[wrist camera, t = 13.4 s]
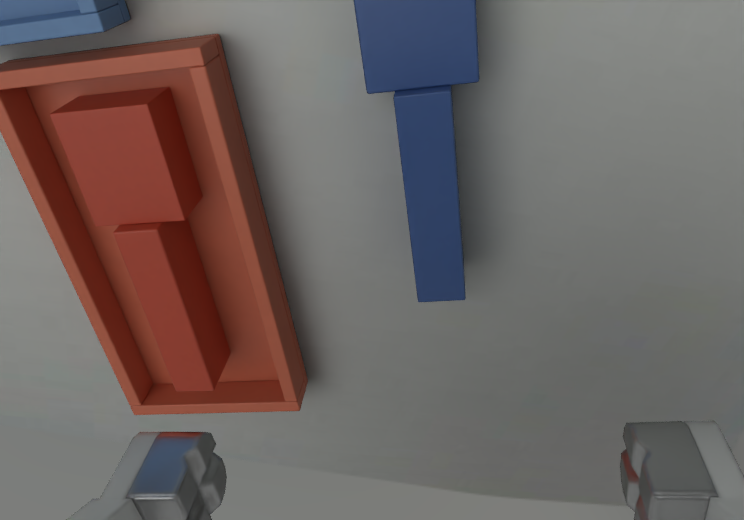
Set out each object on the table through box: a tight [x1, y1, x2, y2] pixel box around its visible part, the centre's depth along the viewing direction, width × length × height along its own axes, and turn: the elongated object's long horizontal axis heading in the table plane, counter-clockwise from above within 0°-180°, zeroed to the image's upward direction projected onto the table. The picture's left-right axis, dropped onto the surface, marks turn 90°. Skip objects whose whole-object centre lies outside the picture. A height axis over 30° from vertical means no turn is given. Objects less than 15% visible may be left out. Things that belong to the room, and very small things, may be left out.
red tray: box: [0, 34, 308, 415], centre depth 25 cm, size 16×8×2 cm, turn 8°
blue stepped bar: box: [354, 0, 479, 302], centre depth 21 cm, size 12×4×2 cm, turn 8°
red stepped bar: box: [50, 87, 231, 391], centre depth 24 cm, size 12×4×2 cm, turn 7°
